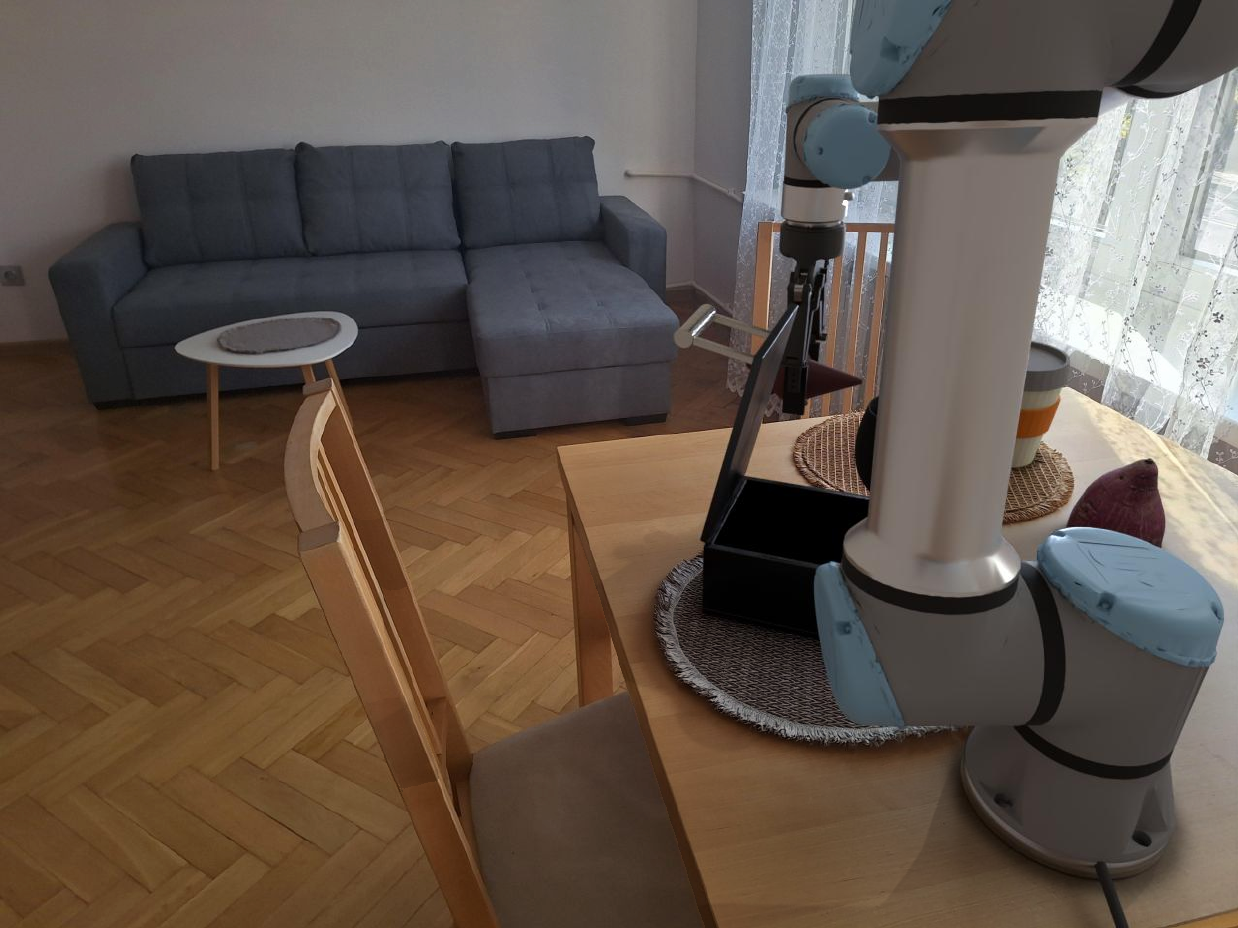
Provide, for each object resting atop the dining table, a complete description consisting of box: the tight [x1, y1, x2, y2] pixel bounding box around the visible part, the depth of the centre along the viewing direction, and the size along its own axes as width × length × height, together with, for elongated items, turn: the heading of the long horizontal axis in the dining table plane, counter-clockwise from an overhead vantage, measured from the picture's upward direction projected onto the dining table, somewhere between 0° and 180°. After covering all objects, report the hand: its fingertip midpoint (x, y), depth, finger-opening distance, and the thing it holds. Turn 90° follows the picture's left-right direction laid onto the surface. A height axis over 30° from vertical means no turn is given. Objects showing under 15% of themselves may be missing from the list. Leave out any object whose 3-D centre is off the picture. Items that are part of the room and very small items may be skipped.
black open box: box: [701, 475, 870, 641], centre depth 90 cm, size 21×16×9 cm
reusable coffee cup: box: [1011, 340, 1071, 469], centre depth 115 cm, size 13×13×15 cm
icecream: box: [744, 355, 864, 407], centre depth 106 cm, size 7×7×15 cm
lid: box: [673, 303, 799, 544], centre depth 86 cm, size 21×16×9 cm
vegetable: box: [1065, 457, 1167, 549], centre depth 93 cm, size 10×10×15 cm
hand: (799, 400), depth 107 cm, fingers closed on icecream, 7 cm apart
